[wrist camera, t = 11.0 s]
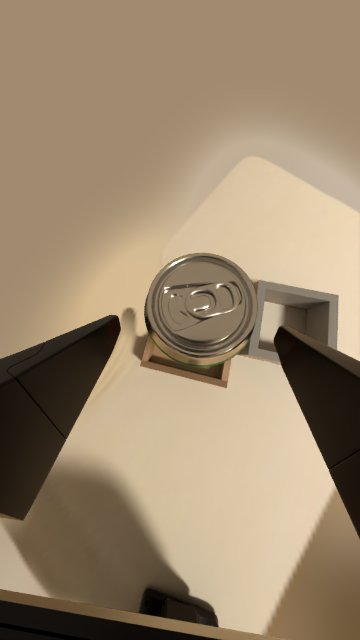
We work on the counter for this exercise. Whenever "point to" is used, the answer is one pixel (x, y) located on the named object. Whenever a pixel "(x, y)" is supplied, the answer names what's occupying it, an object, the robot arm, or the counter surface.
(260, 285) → the box
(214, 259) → the soda can
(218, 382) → the walnut tray
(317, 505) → the counter surface
